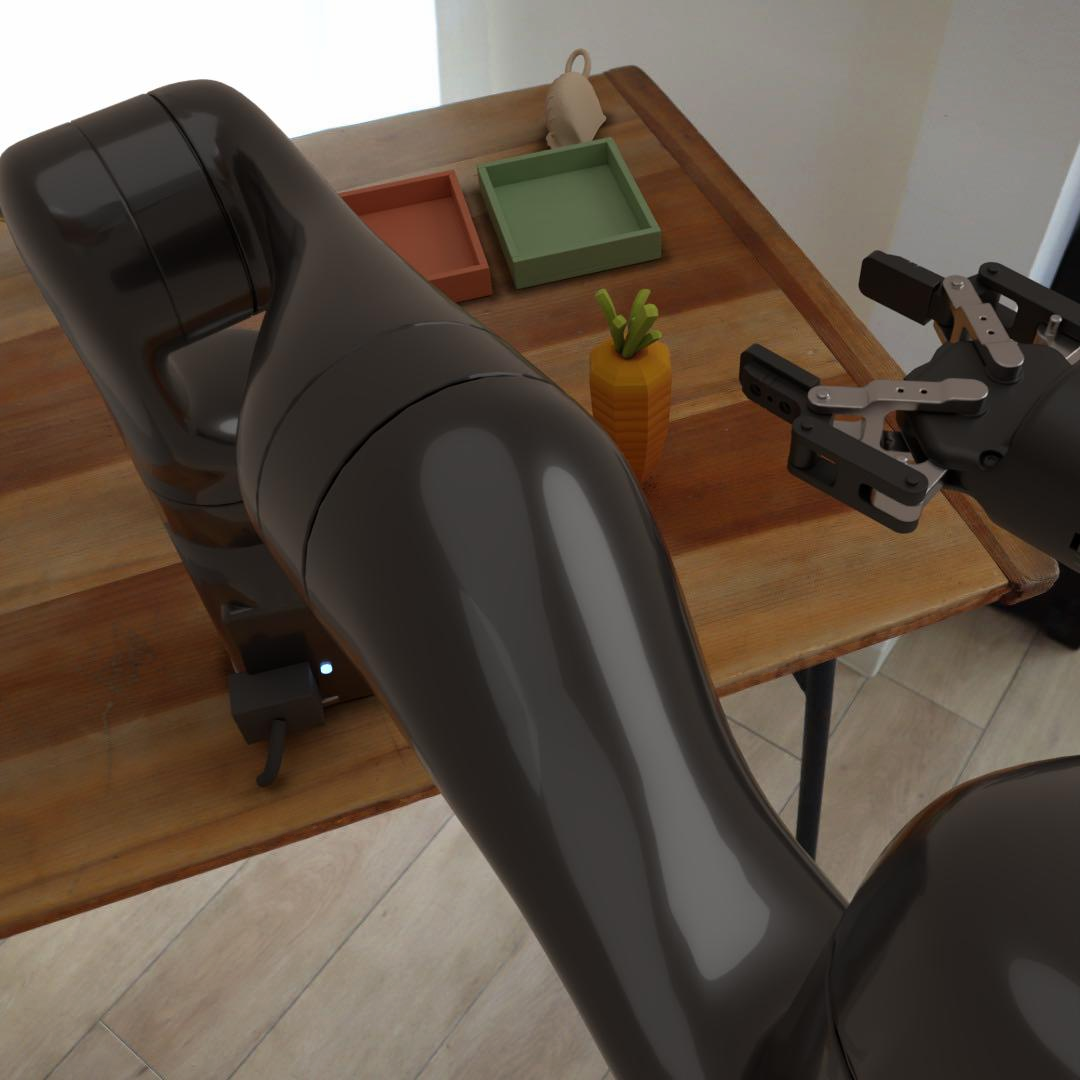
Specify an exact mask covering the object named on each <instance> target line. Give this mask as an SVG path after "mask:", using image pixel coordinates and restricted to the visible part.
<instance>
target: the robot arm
mask: <svg viewBox="0 0 1080 1080" xmlns="http://www.w3.org/2000/svg"><path fill="white" fill-rule="evenodd" d="M338 193H339V192H337V191H336V190H335V189H334V188H333V186H332V185H331V184H330V183H329V182H328V181H327V180H326V178H325V177H324V175H322V174H321V173H320V172H319V170H318V169H317V168H316V167H315V166H314V165H313V164H312V163H311V161H310V160H309V159H308V158H307V157H306V155H304V154H303V152H302V151H301V150H300V149H299V148H298V147H297V145H295V143H294V142H293V141H292V140H291V138H289V136H288V135H287V134H286V133H285V132H284V131H283V130H282V129H281V128H280V127H279V126H278V124H276V123H275V122H274V120H273V119H272V118H271V117H270V116H269V115H267V113H266V112H265V111H264V110H262V109H261V107H259V106H258V105H257V104H256V103H254V101H252V100H251V99H250V98H248V97H247V96H246V95H245V94H243V93H242V92H240V91H239V90H237V88H236V89H235V88H234V87H233V86H230V85H228V84H226V83H224V82H222V81H218V80H214V79H209V78H208V79H207V78H200V79H188V80H183V81H178V82H173V83H169V84H165V85H163V86H162V85H161V86H160V87H156V88H154V89H152V90H148V92H146V93H141V94H137V95H135V96H133V97H130V98H128V99H125V100H122V101H119V102H117V103H114V104H111V105H108V106H106V107H103V108H100V109H98V110H96V111H93V112H89V113H87V114H85V115H82V116H79V117H76V118H74V119H72V120H70V121H66V122H64V123H61V124H59V125H56V126H53V127H50V128H48V129H45V130H43V131H41V132H38V133H35V134H32V135H30V136H28V137H26V138H23V139H21V140H18V141H17V142H15V143H13V144H12V145H10V146H8V147H7V148H6V149H5V150H4V151H3V152H2V153H1V154H0V208H1V211H2V215H3V217H4V220H5V222H6V223H5V225H6V227H7V229H8V231H9V234H10V236H11V239H12V241H13V243H14V246H15V248H16V250H17V252H18V254H19V255H20V257H21V259H22V261H23V263H24V265H25V267H26V269H27V270H28V272H29V274H30V275H31V278H32V279H33V282H34V283H35V285H36V287H37V289H38V290H39V293H41V296H42V297H43V299H44V300H45V302H46V304H47V306H48V307H49V309H50V310H51V312H52V314H53V316H54V317H55V319H56V321H57V322H58V324H59V326H60V327H61V329H62V331H63V333H64V334H65V336H66V337H67V339H68V341H69V343H70V344H71V346H72V348H73V349H74V351H75V353H76V355H77V356H78V358H79V359H80V361H81V363H82V366H84V368H85V370H86V372H87V373H88V374H89V376H90V379H91V380H92V383H94V385H95V387H96V390H97V391H98V394H99V396H100V397H101V400H102V401H103V403H104V405H105V407H106V409H107V410H108V413H109V415H110V418H111V419H112V421H113V423H114V426H115V428H116V429H117V431H118V434H119V436H120V437H121V440H122V442H123V445H124V447H125V449H126V451H127V453H128V456H129V458H130V460H131V462H132V464H133V466H134V468H135V470H136V472H137V474H138V476H139V478H140V480H141V481H142V484H143V485H144V487H145V490H146V492H147V494H148V496H149V498H150V500H151V502H152V504H153V506H154V507H155V510H156V511H157V512H156V513H157V514H158V516H159V518H160V520H161V522H162V524H163V526H164V528H165V531H166V532H167V534H168V536H169V538H170V540H171V542H172V545H173V547H174V548H175V550H176V552H177V554H178V556H179V558H180V560H181V563H182V564H183V566H184V568H185V570H186V572H187V574H188V577H189V578H190V580H191V583H192V584H193V587H194V588H195V590H196V593H197V594H198V596H199V598H200V600H201V602H202V605H203V606H204V608H205V611H206V612H207V614H208V617H209V619H210V621H211V622H212V624H213V627H214V628H215V631H216V632H217V634H218V637H219V638H220V640H221V642H222V644H223V646H224V648H225V650H226V652H227V654H228V655H229V658H230V660H231V665H232V667H233V670H234V672H235V673H231V674H228V676H227V681H228V692H229V693H228V694H229V704H230V705H229V706H230V715H231V717H232V719H233V721H234V723H235V725H236V726H237V728H238V730H239V732H240V734H241V735H242V737H243V739H244V742H245V744H247V746H249V745H254V744H257V743H261V742H266V741H269V742H268V743H269V744H268V750H267V758H266V762H265V765H264V768H263V771H262V772H260V774H258V775H257V776H256V779H255V783H256V785H257V786H258V787H260V788H267V787H268V786H270V785H271V784H273V783H274V782H275V781H276V780H277V777H278V774H279V771H280V768H281V765H282V759H283V754H284V748H285V747H284V746H285V737H286V736H290V735H293V734H297V733H301V732H305V731H309V730H314V729H317V728H321V727H322V728H323V727H325V726H326V720H325V719H326V718H325V713H324V708H326V707H330V706H333V705H335V704H339V703H343V702H347V701H351V700H355V699H359V698H363V697H368V696H371V695H374V696H375V697H376V699H377V700H378V702H379V703H380V705H381V706H382V707H383V709H384V711H386V713H387V714H388V716H389V717H390V719H391V720H392V722H393V723H394V725H395V726H396V728H397V730H398V731H399V732H400V733H401V735H402V737H403V738H404V740H405V742H406V743H407V745H408V746H409V748H410V749H411V750H412V753H413V754H414V755H415V757H416V758H417V759H418V761H419V762H420V765H421V766H422V767H423V769H424V770H425V772H426V774H427V775H428V777H429V778H430V779H431V781H432V783H433V784H434V785H435V787H436V788H437V790H438V792H439V793H440V794H441V796H442V798H443V799H444V801H445V802H446V803H447V805H448V807H449V808H450V809H451V811H452V812H453V814H454V816H455V817H456V818H457V820H458V821H459V823H460V824H461V825H462V827H463V828H464V830H465V831H466V832H467V834H468V835H469V837H470V838H471V840H472V842H474V844H475V846H476V847H477V849H478V850H479V851H480V853H481V854H482V856H483V857H484V859H485V860H486V862H487V863H488V865H489V866H490V868H491V870H492V871H493V872H494V874H495V875H496V877H497V878H498V880H499V881H500V884H501V885H502V886H503V887H504V889H505V890H506V893H508V895H509V897H510V898H511V899H512V901H513V903H514V904H515V906H516V907H517V910H518V911H519V912H520V914H521V915H522V918H523V919H524V921H525V922H526V924H527V926H528V927H529V929H530V930H531V932H532V934H533V936H534V938H535V939H536V941H537V942H538V944H539V945H540V947H541V949H542V951H543V952H544V954H545V955H546V957H547V959H548V961H549V962H550V965H551V966H552V968H553V969H554V972H555V973H556V975H557V977H558V978H559V980H560V982H561V984H562V986H563V987H564V989H565V991H566V992H567V994H568V996H569V998H570V999H571V1002H572V1003H573V1005H574V1006H575V1009H576V1010H577V1012H578V1014H579V1016H580V1018H581V1019H582V1022H583V1023H584V1025H585V1027H586V1029H587V1030H588V1032H589V1034H590V1036H591V1038H592V1040H593V1042H594V1044H595V1045H596V1048H597V1049H598V1051H599V1053H600V1055H601V1057H602V1058H603V1060H604V1062H605V1064H606V1066H607V1068H608V1069H609V1071H610V1073H611V1075H612V1077H613V1079H614V1080H1080V754H1074V755H1073V754H1071V755H1063V756H1057V757H1051V758H1045V759H1040V760H1039V759H1038V760H1035V761H1029V762H1024V763H1021V764H1015V765H1012V766H1009V767H1008V766H1007V767H1003V768H1001V769H996V770H993V771H991V772H987V773H986V774H982V775H979V776H977V777H974V778H971V779H969V780H965V781H964V782H961V783H960V784H958V785H956V786H954V787H952V788H950V789H948V790H947V791H945V792H944V793H942V794H940V795H939V796H937V797H936V798H935V799H934V800H933V801H931V802H930V803H928V804H927V805H925V807H923V808H922V809H921V810H919V812H917V813H916V814H915V815H914V816H912V818H910V820H909V821H908V822H906V823H905V824H904V825H903V827H901V829H900V830H899V831H898V832H897V833H896V834H895V835H894V837H893V838H892V839H891V840H890V841H889V842H888V844H887V845H886V846H885V847H884V849H883V850H882V851H881V852H880V854H879V855H878V856H877V858H876V859H875V860H874V862H873V863H872V865H871V866H870V867H869V869H868V872H866V874H865V876H864V877H863V879H862V881H861V882H860V884H858V887H857V888H856V890H855V893H854V895H853V897H852V899H851V901H848V899H847V898H846V896H844V894H842V892H841V891H840V889H838V888H837V886H836V885H835V884H834V883H833V882H832V880H831V879H830V877H828V875H827V874H825V872H824V871H823V870H822V868H820V866H819V865H818V864H817V862H816V861H815V860H814V859H813V858H812V856H810V855H809V853H808V852H807V851H806V849H805V848H803V846H802V845H801V843H800V842H798V840H797V839H796V838H795V836H794V835H793V834H792V832H791V831H790V829H789V828H788V826H787V825H786V824H785V822H784V820H782V818H781V817H780V815H779V814H778V812H777V811H776V810H775V808H774V807H773V805H772V804H771V803H770V801H769V799H768V798H767V796H766V794H765V793H764V791H763V789H762V787H761V786H760V784H759V782H758V780H757V779H756V777H755V776H754V774H753V773H752V771H751V769H750V766H749V765H748V763H747V760H746V758H745V756H744V755H743V752H742V750H741V748H740V746H739V745H738V742H737V740H736V739H735V735H734V734H733V731H732V729H731V726H730V724H729V720H728V718H727V716H726V713H725V711H724V708H723V705H722V703H721V700H720V697H719V695H718V692H717V689H716V687H715V684H714V681H713V679H712V676H711V673H710V670H709V668H708V667H709V666H708V664H707V661H706V659H705V655H704V651H703V650H702V649H703V648H702V645H701V642H700V639H699V636H698V633H697V630H696V627H695V623H694V620H693V617H692V614H691V610H690V608H689V605H688V602H687V599H686V596H685V593H684V589H683V586H682V584H681V581H680V578H679V575H678V571H677V569H676V566H675V564H674V561H673V558H672V556H671V553H670V551H669V548H668V545H667V543H666V539H665V537H664V535H663V532H662V530H661V528H660V525H659V523H658V521H657V518H656V516H655V514H654V511H653V509H652V507H651V504H650V502H649V500H648V498H647V495H646V493H645V491H644V489H643V487H642V485H640V483H639V481H638V479H637V477H636V475H635V473H634V471H633V469H632V467H631V466H630V464H629V462H628V461H627V459H626V457H625V455H624V454H623V453H622V451H621V450H620V449H619V447H618V446H617V445H616V444H615V442H614V441H613V440H612V439H611V437H610V436H609V435H608V434H607V432H606V431H605V430H604V428H603V427H602V426H601V425H600V423H599V422H598V421H597V420H596V419H595V418H594V417H593V414H591V413H590V412H589V411H588V410H587V409H586V408H585V407H584V406H582V405H581V404H580V403H579V402H578V401H577V400H576V399H575V398H573V397H572V396H571V395H570V394H569V393H567V392H566V391H565V390H564V389H563V388H561V386H560V385H558V384H557V383H556V382H555V381H553V380H552V379H551V378H550V377H549V376H548V375H546V374H545V373H544V372H543V371H542V370H540V369H539V368H538V367H537V366H536V365H535V364H534V363H532V362H531V361H530V360H528V359H527V358H526V357H525V356H524V355H522V353H520V352H519V351H518V350H517V349H515V347H513V346H512V345H511V344H510V343H509V342H507V340H505V339H503V338H502V337H501V336H500V335H498V334H497V333H495V332H494V331H493V330H492V329H490V328H489V327H488V326H486V325H485V324H484V323H482V322H481V321H479V320H478V319H477V318H475V317H474V316H473V315H472V314H470V313H469V312H468V311H466V310H465V309H464V308H462V307H461V306H460V305H459V304H458V303H457V302H456V303H455V302H454V301H452V300H451V299H450V298H449V297H448V296H446V295H445V294H444V293H443V292H442V291H440V290H439V289H438V288H437V287H436V286H434V285H433V284H432V283H431V282H430V281H428V280H427V279H426V278H425V277H424V276H423V275H421V274H420V273H419V272H418V271H417V270H416V269H415V268H414V267H413V266H411V265H410V264H409V263H408V262H407V261H406V260H405V259H403V258H402V257H401V256H400V255H399V254H398V253H397V252H396V251H395V250H394V249H392V248H391V247H390V246H389V245H388V244H387V243H386V242H385V241H384V240H382V239H381V238H380V237H379V236H378V235H377V234H376V233H375V232H374V231H373V230H372V229H371V228H370V227H369V226H367V225H366V224H365V223H364V222H363V221H362V220H361V219H360V217H359V216H358V215H357V214H356V213H355V212H354V211H353V210H352V209H351V208H350V207H349V206H348V205H347V204H346V202H345V201H344V200H343V199H342V198H341V197H340V196H339V195H338ZM857 285H858V290H859V292H860V293H861V294H862V295H863V296H864V297H866V298H867V299H869V300H872V301H874V302H875V303H878V304H880V305H881V306H884V307H885V308H888V309H889V310H891V311H894V312H895V313H897V314H899V315H901V316H903V317H905V318H907V319H909V320H911V321H913V322H915V323H917V324H919V325H921V326H923V327H925V326H926V325H927V324H928V323H930V321H933V323H932V327H933V329H934V331H935V333H936V335H937V337H938V339H939V341H940V343H941V345H940V346H938V347H937V349H936V350H935V351H934V354H933V355H932V357H931V359H930V360H929V361H928V362H925V363H924V364H921V365H919V366H917V367H914V368H913V369H912V370H911V371H910V372H908V374H906V375H905V376H904V377H903V379H885V378H884V379H882V378H881V379H880V378H879V379H874V380H872V381H869V383H867V384H866V385H865V386H862V387H861V386H860V387H859V386H841V385H839V386H838V385H821V378H820V377H818V376H816V375H815V374H813V373H812V372H809V370H808V371H807V370H806V369H804V368H803V367H801V366H799V365H797V364H795V363H794V362H791V361H790V360H788V359H786V358H784V357H783V356H781V355H779V354H778V353H776V352H774V351H773V350H770V349H769V348H767V347H766V346H763V344H762V345H761V344H760V343H756V342H755V343H752V344H751V345H750V346H748V347H746V349H744V350H743V351H742V352H741V353H740V355H739V369H738V381H739V384H740V385H741V392H742V393H743V394H744V396H745V397H746V398H747V400H749V401H751V402H753V403H754V404H755V405H758V406H759V407H761V408H763V409H766V411H767V412H769V413H771V414H773V415H774V416H776V417H778V419H779V418H780V419H781V420H783V421H785V422H786V423H788V424H789V425H791V431H790V443H789V444H790V445H789V450H788V451H789V452H788V457H787V461H786V462H787V464H786V468H787V469H786V470H787V472H789V474H790V475H792V476H793V477H795V478H797V479H799V480H801V481H803V482H804V483H806V484H808V485H810V486H812V487H814V488H815V489H817V490H818V491H820V492H823V493H824V494H826V495H828V496H830V497H832V498H833V499H835V500H836V501H838V502H840V503H842V504H844V505H846V506H848V507H850V508H851V509H853V510H855V511H857V512H858V513H860V514H862V515H864V516H866V517H867V518H869V519H870V520H873V521H875V522H876V523H878V524H880V525H882V526H883V527H885V528H887V529H889V530H890V531H893V532H895V533H898V534H901V535H907V534H911V533H913V532H915V531H916V529H917V528H918V527H919V522H920V518H921V517H922V513H923V511H924V508H925V507H926V506H927V504H928V503H930V501H931V500H932V499H933V498H934V497H935V496H936V495H937V494H938V493H939V491H941V489H942V490H948V491H954V492H958V493H960V494H964V495H967V496H969V497H971V498H972V499H973V500H975V501H976V502H977V503H978V504H979V506H980V507H981V508H982V510H983V511H984V512H985V514H986V516H987V517H988V519H989V521H991V523H993V524H994V525H996V526H997V527H999V528H1001V529H1002V530H1004V531H1006V532H1008V533H1009V534H1011V535H1013V536H1014V537H1016V538H1018V539H1019V540H1021V541H1023V542H1024V543H1026V544H1028V545H1030V546H1031V547H1033V548H1035V549H1036V550H1038V551H1040V552H1042V553H1044V554H1045V555H1047V556H1049V557H1050V558H1052V559H1054V560H1055V561H1057V562H1059V563H1060V564H1062V565H1064V566H1065V567H1067V568H1069V569H1070V570H1073V571H1074V572H1075V573H1077V574H1079V575H1080V303H1079V302H1077V301H1075V300H1072V299H1071V298H1069V297H1066V296H1065V295H1062V294H1061V293H1059V292H1056V291H1054V290H1053V289H1051V288H1049V287H1047V286H1045V285H1043V284H1041V283H1040V282H1037V281H1035V280H1033V279H1032V278H1030V277H1028V276H1025V275H1023V274H1022V273H1020V272H1019V271H1016V270H1014V269H1012V268H1010V267H1008V266H1006V265H1004V264H1001V263H999V262H998V261H997V262H996V261H987V262H984V263H981V265H979V268H978V272H977V273H975V274H973V275H971V276H967V277H966V276H963V275H959V274H954V275H953V274H952V275H948V276H946V277H945V276H942V275H940V274H938V273H936V272H934V271H931V270H930V269H928V268H926V267H923V266H922V265H919V264H917V263H915V262H913V261H911V260H909V259H907V258H905V257H903V256H900V255H895V254H891V253H886V252H884V251H882V250H879V249H876V250H874V251H872V252H870V253H869V254H868V255H867V256H866V257H864V258H863V259H862V260H861V264H860V271H859V277H858V283H857ZM1002 296H1003V297H1005V298H1007V299H1009V300H1010V301H1012V302H1014V303H1015V304H1016V306H1017V311H1015V310H1014V309H1012V308H1010V307H1008V306H1006V305H1005V304H1002V303H1001V302H1000V300H1001V297H1002ZM262 313H264V315H263V319H262V322H261V324H260V328H259V329H257V328H250V327H241V326H240V327H239V326H235V325H237V324H239V323H241V322H244V321H246V320H249V319H251V317H252V316H253V317H254V316H257V315H259V314H262ZM891 412H895V422H896V425H897V427H898V431H897V430H887V429H884V424H885V420H886V416H887V415H888V414H889V413H891ZM835 416H855V417H861V418H860V419H859V420H839V419H835V418H836V417H835ZM911 462H914V463H911Z"/></svg>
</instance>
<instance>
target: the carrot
mask: <svg viewBox="0 0 1080 1080" xmlns="http://www.w3.org/2000/svg"><path fill="white" fill-rule="evenodd" d="M650 294H651V290H650V289H648V288H642V289H640V290H639V291H638V292H637V295H636V296H635V298H634V300H633V303H632V305H631V309H630V313H629V316H628V320H626V318H625V317H624V316H623V315H622V314H619V315H617V312H616V308H615V305H614V303H613V301H612V299H611V297H610V294H609V293H608V292H607V290H606V288H601V289H599V290H598V291H596V292H595V294H594V297H595V299H596V301H597V303H598V305H599V307H600V309H601V311H602V312H603V315H604V317H605V320H606V322H607V324H608V326H609V331H610V332H609V333H610V335H611V336H609V337H608V338H606V339H605V340H603V341H602V342H601V343H599V344H598V345H596V346H595V347H593V348H592V349H591V350H590V353H589V374H588V375H589V378H588V380H589V384H588V385H589V392H590V405H591V412H592V416H593V417H594V418H595V419H596V420H597V421H598V422H599V423H600V425H601V426H602V427H603V428H604V430H605V431H606V432H607V434H608V435H609V436H610V437H611V439H612V440H613V441H614V442H615V444H616V445H617V446H618V447H619V449H620V450H621V451H622V453H623V454H624V455H625V457H626V459H627V461H628V462H629V464H630V466H631V467H632V469H633V471H634V473H635V475H636V477H637V479H638V481H639V483H640V485H641V486H642V485H644V483H645V482H646V480H647V479H648V478H649V477H650V475H651V474H652V473H653V472H654V470H655V468H656V467H657V465H658V463H659V461H660V459H661V456H662V453H663V450H664V447H665V444H666V440H667V435H668V430H669V428H670V427H669V426H670V416H671V415H670V414H671V406H672V405H671V403H672V402H671V401H672V382H673V381H672V377H673V376H672V361H671V360H672V359H671V352H670V349H669V347H668V346H667V345H666V344H664V343H662V342H661V341H659V340H661V339H662V338H663V334H662V332H661V331H659V330H652V331H650V329H652V326H653V325H654V324H655V322H656V321H657V320H658V317H659V308H657V306H656V304H652V303H647V304H646V302H647V300H648V297H649V296H650ZM626 327H627V332H625V330H626ZM649 331H650V332H649Z"/></svg>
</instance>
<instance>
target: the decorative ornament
mask: <svg viewBox="0 0 1080 1080" xmlns="http://www.w3.org/2000/svg"><path fill="white" fill-rule="evenodd" d="M579 56H582V57H583V59H584V66H583V70H582V72H581V73H580V72H577V71H572V68H573V65H574V62H575V60H576V59H577V57H579ZM591 71H592V59H591V55H590V53H589V52H588V51H587V49H585V48H583V47H582V48H576V49H574V50H573V51H572V52H571V53H570V55H569V57H568V58H567V60H566V63H565V67H564V73H561V74H560V75H559V76H558V77H556V78H555V79H553V81H552V82H551V84H550V86H549V88H548V90H547V92H546V93H547V94H546V98H545V105H544V118H545V124H546V127H547V131H548V134H547V135H546V137H545V141H546V145H547V147H548V148H550V149H555V148H560V147H565V146H569V145H574V144H579V143H584V142H589V141H594V140H593V139H594V137H595V136H596V134H597V132H598V131H599V129H600V127H601V126H602V125H603V124H604V122H606V121H607V117H606V116H605V114H603V109H602V107H601V104H600V101H599V98H598V96H597V93H596V91H595V89H594V87H593V85H592V83H591V82H590V80H589V77H590V75H591Z"/></svg>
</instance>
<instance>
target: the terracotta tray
mask: <svg viewBox="0 0 1080 1080" xmlns="http://www.w3.org/2000/svg"><path fill="white" fill-rule="evenodd" d="M337 193H338V195H339V196H340V197H341V198H342V199H343V200H344V201H345V202H346V204H347V205H348V206H349V207H350V208H351V209H352V210H353V211H354V212H355V213H356V214H357V215H358V216H359V217H360V219H361V220H362V221H363V222H364V223H365V224H366V225H367V226H369V227H370V228H371V229H372V230H373V231H374V232H375V233H376V234H377V235H378V236H379V237H380V238H381V239H382V240H384V241H385V242H386V243H387V244H388V245H389V246H390V247H391V248H392V249H394V250H395V251H396V252H397V253H398V254H399V255H400V256H401V257H402V258H403V259H405V260H406V261H407V262H408V263H409V264H410V265H411V266H413V267H414V268H415V269H416V270H417V271H418V272H419V273H420V274H421V275H423V276H424V277H425V278H426V279H427V280H428V281H430V282H431V283H432V284H433V285H434V286H436V287H437V288H438V289H439V290H440V291H442V292H443V293H444V294H445V295H446V296H448V297H449V298H450V299H451V300H452V301H454V302H455V303H456V304H457V303H460V302H464V301H470V300H473V299H474V300H475V299H480V298H484V297H488V296H493V286H492V279H491V271H490V266H489V263H488V260H487V258H486V255H485V252H484V250H483V246H482V244H481V241H480V237H479V235H478V233H477V230H476V227H475V223H474V221H473V219H472V216H471V213H470V210H469V207H468V204H467V201H466V199H465V196H464V193H463V190H462V186H461V184H460V182H459V178H458V176H457V174H456V170H455V169H449V170H444V171H439V172H434V173H430V174H425V175H420V176H415V177H411V178H410V177H409V178H405V179H401V180H396V181H391V182H387V183H382V184H377V185H371V186H367V187H362V188H357V189H352V190H347V191H343V192H337Z"/></svg>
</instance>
